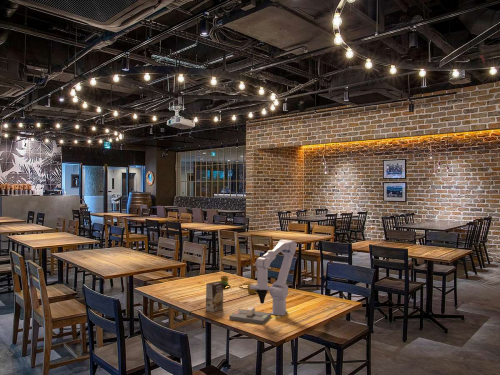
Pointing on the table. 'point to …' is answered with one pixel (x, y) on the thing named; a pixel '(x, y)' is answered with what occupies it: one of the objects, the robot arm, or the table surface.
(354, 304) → the table surface
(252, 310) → the breaker knob
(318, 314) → the table surface
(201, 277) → the table surface
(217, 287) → the coffee box
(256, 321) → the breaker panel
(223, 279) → the tableware set
